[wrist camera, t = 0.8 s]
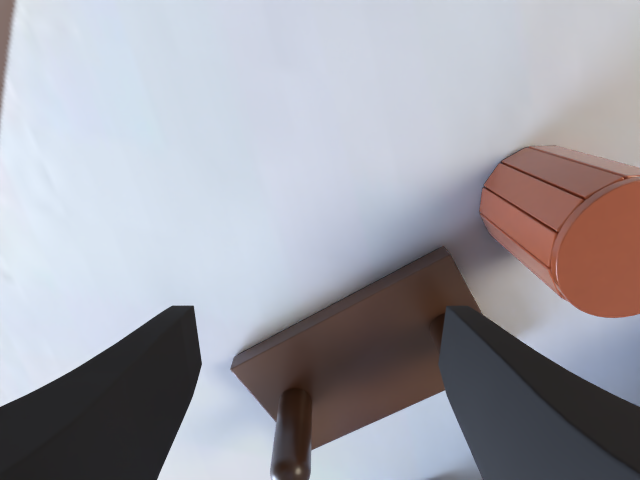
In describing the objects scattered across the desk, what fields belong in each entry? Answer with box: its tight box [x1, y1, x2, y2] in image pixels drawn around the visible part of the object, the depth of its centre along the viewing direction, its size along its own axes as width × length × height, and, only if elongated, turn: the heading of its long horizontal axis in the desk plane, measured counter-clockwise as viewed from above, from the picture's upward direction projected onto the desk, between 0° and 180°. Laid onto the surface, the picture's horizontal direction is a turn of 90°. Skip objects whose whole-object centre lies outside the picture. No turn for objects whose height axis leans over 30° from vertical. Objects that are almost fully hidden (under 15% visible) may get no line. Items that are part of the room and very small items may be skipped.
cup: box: [480, 146, 640, 318], centre depth 17 cm, size 5×5×7 cm
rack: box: [230, 246, 483, 480], centre depth 20 cm, size 8×14×7 cm, turn 122°
